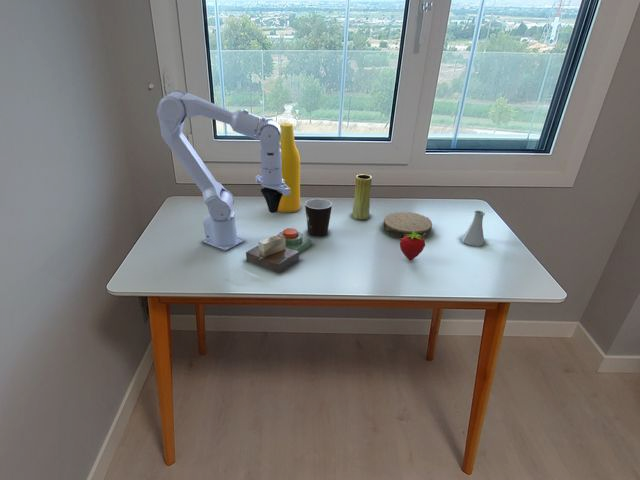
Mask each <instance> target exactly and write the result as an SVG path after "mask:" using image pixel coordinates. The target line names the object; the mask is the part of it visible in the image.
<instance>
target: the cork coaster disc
mask: <svg viewBox="0 0 640 480" xmlns="http://www.w3.org/2000/svg"><path fill="white" fill-rule="evenodd" d="M382 226H383V227H382V229H383V231H384V232H385V234H387V235H389V236H390V237H393V238H395V239H399V240H401V239H402V238H403V237H405V236H408V235H405V234H412V232H413V231H414V232H415V233H416V232H417V234H419V235H421V236H424V237H422V238H423V239H424V240H425V239H426V238H428V237H430V235H431V233H432V228H433V223H432V220H431V219H430V218H429V217H427V216H425V215H423V214H420V213H415V212H409V211H395V212H392V213H388V214H387V215H385V217H384V218H383V225H382ZM415 229H416V231H415Z"/></svg>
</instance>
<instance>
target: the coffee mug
mask: <svg viewBox="0 0 640 480" xmlns="http://www.w3.org/2000/svg"><path fill="white" fill-rule="evenodd" d="M332 207H333V202H332V201H330V200H328V199H325V198H311V199H308V200H306V201H305V202H304V209H305V217H306V227H307V234H308V235H309V236H311V237H315V238H321V237H325V236H326V235H328V232H329V226H330V220H331V215H332Z"/></svg>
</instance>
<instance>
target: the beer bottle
mask: <svg viewBox="0 0 640 480" xmlns="http://www.w3.org/2000/svg"><path fill="white" fill-rule="evenodd" d="M279 126H280V128H281V139H280V143H281V147H280V149H281V160H282V179H284V180H285V182H284V183H285V184H286V186H287V187H289V188H290V195H287V196H283V195H282V197H281V200H280V203H279V207H278V211H277V212H280V213H294V212H297V211H299V209H300V208H301V156H300V152H299V149H298V148H297V146H296V141H295V132H294V124H293V123H289V122H281V123H280V124H279Z"/></svg>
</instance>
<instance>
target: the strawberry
mask: <svg viewBox="0 0 640 480" xmlns="http://www.w3.org/2000/svg"><path fill="white" fill-rule="evenodd" d="M415 231H416V229H415ZM405 235H408V236H405V237H403V238H402V239H400V240H399V241H400V242H399V248H400V250H401V252H402V254H403V255H404V256H405V257H406V259H407V260H408V261H409V262H410V261H413V260H414V259H416V258H417V257H418V256H419V255H420V254H422V252H423V251H424V249H425V247H426V240H425V238H424V239H423V238H422V237H424V236H421V235H419V234H417V232H416V233H415V232H414V231H413V232H412V234H405Z"/></svg>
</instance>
